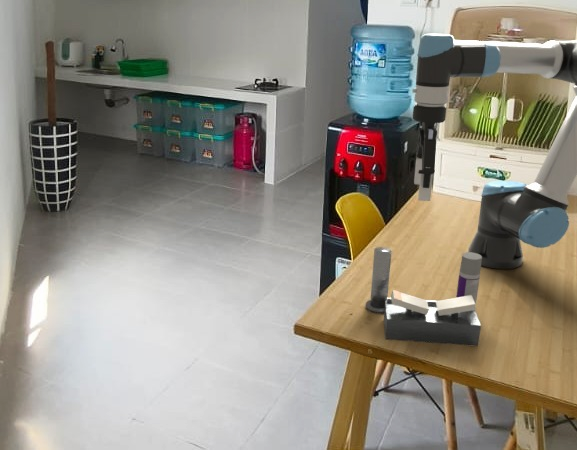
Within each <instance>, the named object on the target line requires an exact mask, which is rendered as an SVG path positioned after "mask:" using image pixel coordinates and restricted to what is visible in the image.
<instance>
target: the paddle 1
mask: <svg viewBox="0 0 577 450" xmlns="http://www.w3.org/2000/svg"><path fill="white" fill-rule="evenodd" d="M390 298H391V300H392V304H393V305H396V306H400V307H403V308H406V309H409V310H413V311H416V312H419V313H422V314H425V315H427V313H428V311H429V307H428V303H427V300H426V299H423V298H420V297H417V296H414V295H410V294H407V293H404V292H401V291H399V290H396V289H393V290H392V291H391V294H390Z"/></svg>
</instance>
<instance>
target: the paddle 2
mask: <svg viewBox="0 0 577 450" xmlns="http://www.w3.org/2000/svg"><path fill="white" fill-rule="evenodd" d="M435 301H436V307H437V310H438V314H439V316H441V315H447V314H453V313H459V312H465V311H471V310H475V311H476V310H477V307H476V306H475V302H474V300H473V297H472V295H469V296H463V297H457V298H456V297H451V298H447V299H446V298H445V299H440V300H435Z"/></svg>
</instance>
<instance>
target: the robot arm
mask: <svg viewBox="0 0 577 450" xmlns="http://www.w3.org/2000/svg"><path fill="white" fill-rule="evenodd" d="M416 64H417V65H416V77H415V88H412V93H414V97H413V98H414V99H413V101H414V102H415V103H414V104H413V107H412V108H413V109H412V120H413V121H415V122H418V123H419V127H418V130H417V131H418V132H417V133H418V134H417V135H418V136H417V137H418V138H417V145H416V149H415V152H416V155H415V156H416V160H415V169H414V179H413V183H414V185H419V186H418V187H419V188H418V195H417V196H418V198H417V201H419V202H420V201H423V202H431V197H432V187H433V186H432V185H433V177H434V176H433V175H434V174H435V170H436V169H435V162H436V144H437V135H438V130H437V128H436V127H435V124H441V123H444V122H445V121H446V117H447V109H448V108H447V105H446V104H447V103H448V100H449V94H450V93H449V90H450V81H451V78H481V79H482V78H484V77H492V76H494V75H495V74H496V73H500V74H522V75H523V74H525V75H526V74H528V75H540V76H541V77H542V78H543V79H544V78H545V79H552V80H558V81H563V82H567V83H571V84H574V85H573V87H572V88H573V91H574V93H575V98H574V99H573V101H572V103H571V106H570V108H569V110H568V112H567V113H566V116H565V117H564V119H563V122H562V125H561V127H560V128H559V130H558V132H557V134H556V136H555V138H554V141H553V142H552V145H551V147H550V149H549V151H548V153H547V155H546V157H545V159H544V161H543V163H542V165H541V167H540V169H539V171H538V172H537V173H538V174H537V176H536V177H535V179H534V181H533V182H532V183H530V184H526V183H524V182H519V181H513V180H509V181H508V180H493V181H489V182H486V184H484V186H483V188H482V192H481V195H480V196H481V201H480V206H479V207H480V208H479V215H478V224H477V230H476V233H475V235H474V237H473V239H472V241H471V243H470V244H469V246H468V251H467V252H472V253H477V254H479V255H481V256H482V262H481V267H486V268H490V269H497V270H510V269H511V270H512V269H515V268H519V267H520V266H521V265H522V264H523V260H524V259H523V257H524V253H523V248H522V244H521V241H522V243H524V244H527V245H530V246H532V247H533V248H537V249H539V248H540V249H545V248H548V247H550V246H552V245H555V244H557V243H558V242H559V241H560V240H562V239H563V237H564V236H565V235H566V233H567V231H568V229H569V226H570V221H569V219H570V217H569V215H568V214H567V212H566V211H567V209H568V207H569V205H570V203H569V200H568V198H567V195H568V193H569V191H570V190H571V187H572V185H573V183H574V181H575V179H576V177H577V39H573V40H572V39H571V40H549V41H546V42H545V43H543V44H541V43H523V42H504V41H503V42H502V41H486V40H485V41H484V40H482V41H481V40H480V41H479V40H461V39H455V38H454V36H453V35H452V34H445V33H426V34H423V35H422V36H421V37H420V39H419V44H418V51H417V63H416Z"/></svg>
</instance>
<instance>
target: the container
mask: <svg viewBox="0 0 577 450" xmlns="http://www.w3.org/2000/svg"><path fill="white" fill-rule="evenodd" d="M481 262H482V256H481V255H479V254H477V253H472V252H468V251H467V252H464V253H463V252H462V254H461V261H460V265H459V267H460V268H459V273H458V274H459V275H458V281H457V288H456V295H455V298H457V297H463V296H469V295H472V297H473V300H474V302H475V306H476V305H477V299H478V292H479V291H478V290H479V285H480V278H481V268H482V265H481Z"/></svg>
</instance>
